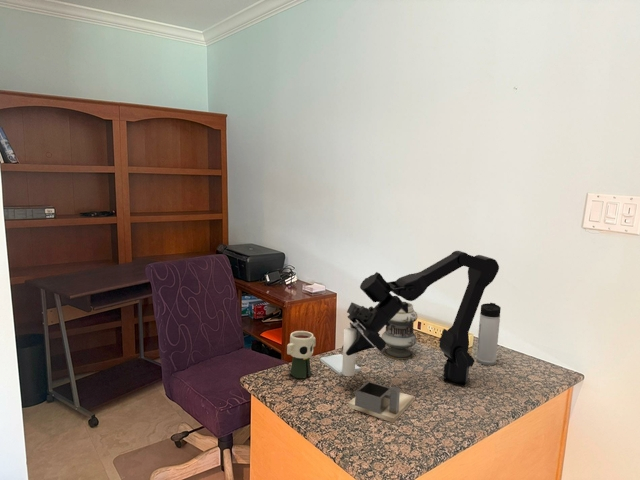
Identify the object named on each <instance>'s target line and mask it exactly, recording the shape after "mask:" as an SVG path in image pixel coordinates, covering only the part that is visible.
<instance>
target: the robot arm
mask: <svg viewBox="0 0 640 480" xmlns="http://www.w3.org/2000/svg"><path fill="white" fill-rule="evenodd" d="M462 267H467V268H468V269H467V278H468V282H467V285H466V289H465V291H464V294H463V297H462V300H461V303H460V305H459V307H458V310H457V312H456V315H455V317H454V321H453V324H452V325H451V326H450V327H449V329H445V328H443V329H442V333H441V335H440V337H439V339H438V342H439V345H438V347H439V349H440V351H441V352H442V353H443V356H444V358H447V359H446V362H445V363H444V364H443V380H442V381H443V382H445V383H448V384H453V385H456V386H459V387H463V388H464V387H466V385H467V384H468V383H469V381H470V380H471V378H470V377H469V376H470V374H469V373H470V367H473V366H474V363H475V361H476V359H474V357H472V355H471V354H470V353H469V352H468V351H469V346H470V337H469V336H470V335H469V331H470V329H471V326H472V324H473V320H474V319H475V316H476V314H477V311H478V308H479V305H480V303H481V299H482V297H483V294H484V292H485V289H486V288H487V287H488V286H489V285H490V284H492V283H493V281H494V280H495V279H496V276H497V275H498V273H499V269H500V265H499V263H498V261H497V259H494V258H491V257H489V256H485V255H480V254H477V255H475V256H474V255H470V254H468V253H467V252H464V251H462V250H454V251H453V252H452V253H450V254H448V255H447V256H445V257H444V258H442V259H440V260H439V261H437V262H435V263H433V264H432V265H430V266H428V267H426V268H424V269H423V270H421V271H418V272H415V273H409V274H406V275H404V276H401V277H398V278H397V279H396V280H394V281H393V280H392V281H386V280H385V278H384V277H383V276H382V275H381V273H379V272H378V271H376V272H375V273H374V274H371V275H369V276H368V277H365V278H364V279H363V281H362V282H361V283H360V285H359V289H360V290H361V291H362V292H363V293H364V294H365V295H366V296H367V297H368V298H369V299H370V300H371V301H372V302H373V303H377V304H376V305H375V306H374V307H373V306H369V307H365V306H364V305H359V304H356V303H354V302H352V301H351V303H350V305H349V306H348V309H347V310H346V313H348V315H347V318H348V320H349V321H351V322H349V328H354V329H356V330H357V336H356V340H355V341H354V342H353V344H352V345H351V346H350V347H349V349H348V350H347V352H346V354H347V355H348V356H349V355H352V354H355V353H356V354H357V353H360V352H362V351H366V350H369V349H375V348H376V349H377V350H379V352H382V351H383V350H385V349H386V347H387V345H386V342H385V341H384V340H383V339H382V336H381V334H380V331H382V329H383V328H384V327H386V326H387V327H388V326H389V325H390V324H389V323H388V322H389V321H390V320H391V319H392V318H393V317H394V316H395V315H396V314H397V313H398V312H399V311H400V310H401V309H402V310H403V311H404V312H406V313H408V303H409V302H413V301H416V300H417V299H418V298H419V297H421V296H422V295H424V293H426V290H427V289H428V287H430V286H431V285H432V284H434V283H436V282H438V281H439V280H441V279H443V278H445V277H446V276H448V275H450V274H452V273H453V272H455V271H457V270H459V269H460V268H462ZM391 292H392V293H393V294H395V295H393V294H392V293H391ZM400 297H401V298H403V300H406V301H402V299H401V298H400ZM407 301H408V303H407ZM341 349H342V350H343V345H342V346H341Z"/></svg>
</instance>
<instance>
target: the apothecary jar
mask: <svg viewBox="0 0 640 480" xmlns="http://www.w3.org/2000/svg"><path fill="white" fill-rule="evenodd" d="M406 302H407V301H406ZM407 303H408V313H406V312H404V311H403V310H402V309H401V310H400V311H399V312H398V313H397V314H396V315H395V316H394V317H393V318H392V319H391V320H390V321H389V322H388V323H389V324H390V325H389V326H388V327H387V326H386V325H385V331H383V333H382V334H381V338H382V339H383V340H384V341H385V342H386V347H387V348H384V351H383V354H384V355H385V356H386V357H389V358H390V359H391V358H392V359H395V360H409V359H410V358H412V357H413V352H412V351H411V350H410V349H409V348H411V347H414V346H415V345H416V344H417V340H418V339H417V336H416V334H415V333H414V323H415V322H416V321H417V320H418V313H417V312H416V311H415V310H414V304H412V303H410V302H409V301H408V302H407Z"/></svg>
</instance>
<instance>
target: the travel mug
mask: <svg viewBox="0 0 640 480" xmlns="http://www.w3.org/2000/svg"><path fill="white" fill-rule="evenodd" d="M501 310H502V309H501V306H500V305H498V304H496V303H493V302H489V303H483V304H481V305H480V313H479V321H478V322H479V325H478V337H477V347H476V359H475V361H476V362H477V363H478V364H480V365H482V364H483V366H487V365H492V366H495V365H496V363H497V354H498V344H499V343H498V342H499V332H500V322H501Z"/></svg>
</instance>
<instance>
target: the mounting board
mask: <svg viewBox="0 0 640 480" xmlns="http://www.w3.org/2000/svg"><path fill="white" fill-rule="evenodd" d="M414 401H415V396H413V395H410V394H407V393H404V392H401V391H400V397H399V412H398V413H397V414H393V413H390V412H389V407H390V405H389V406H388V407H387V408H386V409H385V410H384V411H383V412H382V413H381V414H379V413H376V412H373V411H370V410H367V409H364V408H361V407H358V406H355V396H354V397H353V398H352V399H351V400H349V401H347V407H348V408H350V409H353V410H354V411H355V410H356V411H357V412H361V413H363V414H367V415H370V416H371V417H372V416H373V417H375V418H378V419H381V420H385V421H387V422H389V423H393V424H394V422H396V421H397V420H398V418H400V416H401V415H402V414H403V413H404V412H405V411H406V410H407V409H408V408H409V406H410V405H411V404H412V403H413V402H414Z"/></svg>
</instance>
